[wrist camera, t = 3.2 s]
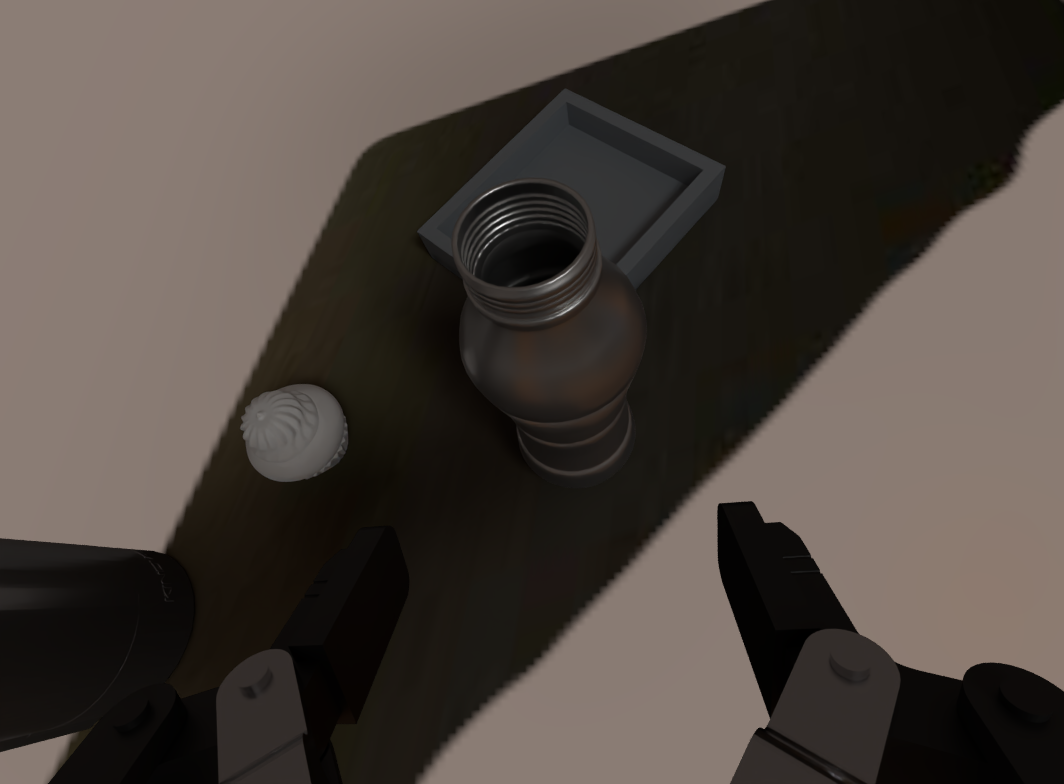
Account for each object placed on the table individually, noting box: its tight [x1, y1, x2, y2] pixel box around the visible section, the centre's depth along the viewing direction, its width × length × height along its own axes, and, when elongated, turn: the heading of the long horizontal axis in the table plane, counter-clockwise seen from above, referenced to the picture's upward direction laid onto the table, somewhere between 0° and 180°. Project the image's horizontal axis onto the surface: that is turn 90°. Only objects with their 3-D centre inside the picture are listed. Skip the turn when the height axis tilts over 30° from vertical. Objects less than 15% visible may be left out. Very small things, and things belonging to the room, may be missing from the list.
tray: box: [417, 89, 726, 290], centre depth 36 cm, size 16×14×3 cm
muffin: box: [240, 384, 348, 482], centre depth 31 cm, size 6×6×7 cm
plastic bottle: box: [451, 177, 647, 488], centre depth 22 cm, size 6×7×20 cm
